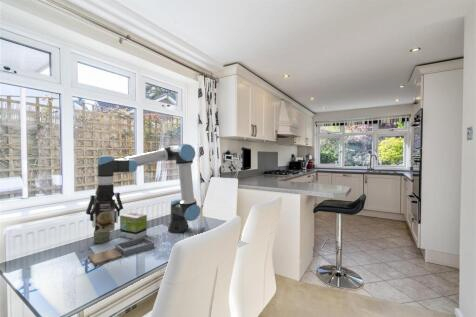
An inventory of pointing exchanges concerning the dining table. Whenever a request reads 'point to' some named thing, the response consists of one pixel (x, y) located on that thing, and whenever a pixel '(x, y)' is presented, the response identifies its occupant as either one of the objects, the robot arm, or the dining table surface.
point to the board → (104, 256)
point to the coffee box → (105, 216)
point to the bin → (120, 247)
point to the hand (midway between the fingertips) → (105, 224)
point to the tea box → (133, 225)
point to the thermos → (100, 236)
